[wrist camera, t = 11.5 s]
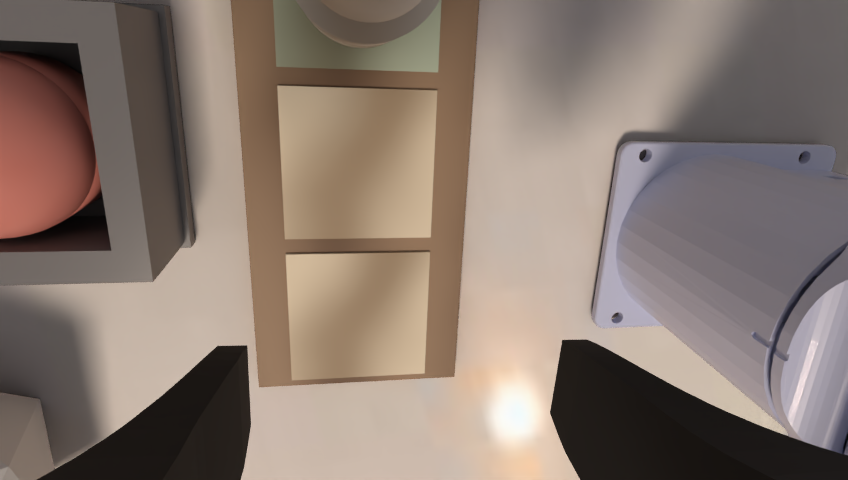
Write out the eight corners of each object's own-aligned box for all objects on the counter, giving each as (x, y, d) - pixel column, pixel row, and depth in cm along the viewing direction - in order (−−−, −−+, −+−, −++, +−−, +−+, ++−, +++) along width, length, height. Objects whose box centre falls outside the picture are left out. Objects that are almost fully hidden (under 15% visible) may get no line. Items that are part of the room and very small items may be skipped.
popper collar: (169, 6, 17) (121, -6, 13) (195, 241, 20) (161, 287, 16) (-116, -8, 16) (-259, -27, 12) (-49, 245, 19) (-149, 295, 15)
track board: (497, -352, 15) (504, -370, 15) (451, 368, 23) (454, 377, 23) (205, -399, 14) (199, -421, 14) (261, 378, 22) (258, 388, 21)
